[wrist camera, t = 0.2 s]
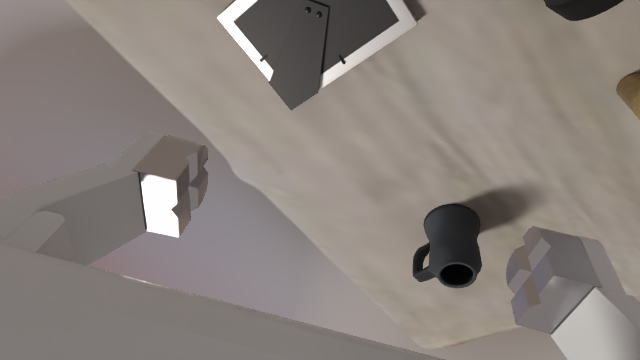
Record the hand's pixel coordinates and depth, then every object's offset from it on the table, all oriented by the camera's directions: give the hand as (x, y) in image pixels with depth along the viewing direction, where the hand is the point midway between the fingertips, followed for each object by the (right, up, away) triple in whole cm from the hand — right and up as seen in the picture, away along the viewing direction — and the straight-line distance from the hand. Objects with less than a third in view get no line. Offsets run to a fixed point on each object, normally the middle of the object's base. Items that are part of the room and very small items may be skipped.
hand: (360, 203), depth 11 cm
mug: (+20, -8, +62) cm, 66 cm away
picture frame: (-1, +22, +46) cm, 51 cm away
